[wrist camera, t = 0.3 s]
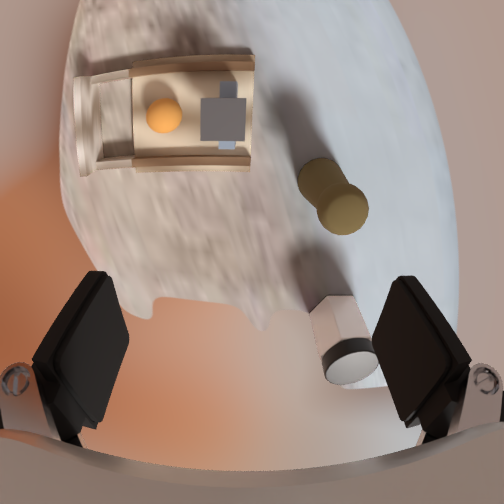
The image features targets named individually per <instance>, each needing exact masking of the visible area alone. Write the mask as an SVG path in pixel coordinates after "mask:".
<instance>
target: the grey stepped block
mask: <svg viewBox="0 0 504 504" xmlns="http://www.w3.org/2000/svg"><path fill="white" fill-rule="evenodd" d="M237 95H238V83H237V81H220V96H219V98H201V110H200V141H219V148H218V149H235V145H236V141H245V125H246V99H247V98H237Z"/></svg>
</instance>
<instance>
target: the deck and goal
mask: <svg viewBox="0 0 504 504" xmlns="http://www.w3.org/2000/svg"><path fill="white" fill-rule="evenodd" d="M254 69H255V55H230V54H226V55H193V56H178V57H167V58H158V59H150V60H142V61H135V62H133V68H132V69H126V70H120V71H115V72H109V73H104V74H99V75H95V76H79V77H75V78H73V96H74V120H75V134H76V146H77V155H78V164H79V171H80V177H83V176H88V175H90V174H91V173H93V172H94V171H96V170H103V169H116V168H132V167H136V173H141V172H170V171H235V172H250V161H251V132H252V108H253V86H254ZM131 78H132V108H133V135H134V152H135V155H132V156H119V157H107V158H104V153H103V141H102V126H101V103H100V84H102V83H107V82H113V81H119V80H125V79H131ZM220 81H237V83H238V95H237V98H247V99H246V125H245V141H236V145H235V149H218V148H219V141H200V110H201V98H219V96H220ZM162 98H169V99H172V100H174V101H176V102H177V103H178V104H179V105H180V107H181V109H182V120H181V122H180V124H179V126H178V127H177V128H176V129H174V130H173V131H171V132H169V133H157V132H155V131H153V130H152V129H151V128H150V127H149V126H148V124H147V121H146V113H147V110H148V108H149V106H150V105H151V104H152V103H153V102H154V101H156V100H158V99H162Z"/></svg>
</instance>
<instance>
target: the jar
mask: <svg viewBox="0 0 504 504" xmlns="http://www.w3.org/2000/svg"><path fill="white" fill-rule="evenodd" d="M309 316H310V320H311V324H312V328H313V332H314V336H315V341H316V345H317V350H318V354H319V357H320V359H321V361H322V366H323V370H324V375H325V378H326V379H327V380H328V381H329V382H330V383H333V384H337V385H345V384H351V383H355V382H358V381H360V380H362V379H364V378H366V377H367V376H369V375H370V374H371V373H372V372H373V371H374V370H375V369H376V368H377V366H378V364H379V361H378V359H377V356H376V354H375V351H374V349H373V346H372V339H371V336H370V333H369V331H368V329H367V326H366V324H365V321H364V319H363V317H362V314H361V312H360V310H359V307H358V305H357V303H356V301H355V298H354V296H326V297H325V298H324V299H323V300H322V301H321V302H320V303H319V304H318V305H317V306H316V307H315V308H314V309H313V310H312V311H311V312H310V314H309Z"/></svg>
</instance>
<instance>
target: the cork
mask: <svg viewBox="0 0 504 504" xmlns="http://www.w3.org/2000/svg"><path fill="white" fill-rule="evenodd" d="M298 187H299V190H300V192H301V194H302V195H303V196H304V197H305V198H306V199H307V200H308V201H309V202H310V203H311V204H312V205H313V206H314V207H315V208H316V209H317V215H318V218H319V221H320V222H321V224H322V225H323V227H324V228H326V229H327V230H328V231H330V232H331V233H333V234H337V235H348V234H351V233H354V232H356V231H357V230H359V229H360V228H361V227H362V225H363V224H364V223H365V221H366V219H367V216H368V210H369V207H368V202H367V199H366V197H365V195H364V193H363V192H362V191H361V190H360V189H358V188H357V187H356V186H354V185H352V184H349V182H348V181H347V179H346V177H345V175H344V174H343V172H342V170H341V169H340V167H339V166H338V165H337V164H336V163H335V162H333V161H332V160H329V159H326V158H317V159H314V160H311V161H310V162H308V163H307V164H305V165H304V167H303V168H302V169H301V171H300V173H299V176H298Z"/></svg>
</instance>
